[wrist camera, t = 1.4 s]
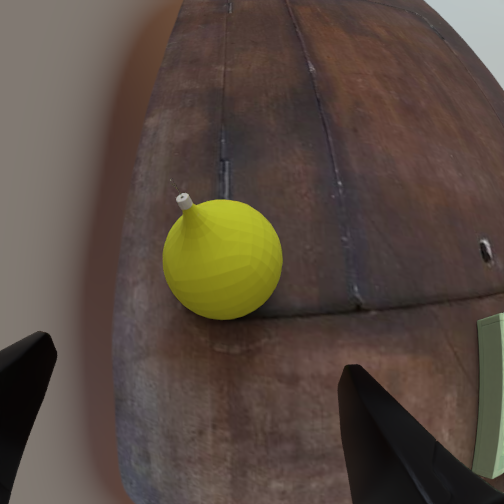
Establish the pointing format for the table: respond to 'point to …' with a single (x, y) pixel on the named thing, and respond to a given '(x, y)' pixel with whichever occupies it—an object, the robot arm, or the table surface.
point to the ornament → (221, 258)
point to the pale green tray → (490, 399)
